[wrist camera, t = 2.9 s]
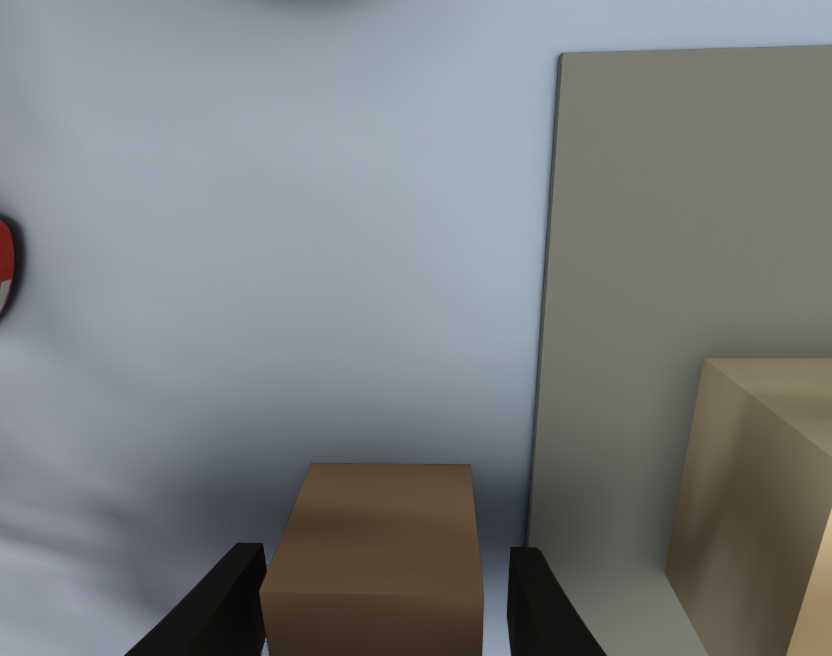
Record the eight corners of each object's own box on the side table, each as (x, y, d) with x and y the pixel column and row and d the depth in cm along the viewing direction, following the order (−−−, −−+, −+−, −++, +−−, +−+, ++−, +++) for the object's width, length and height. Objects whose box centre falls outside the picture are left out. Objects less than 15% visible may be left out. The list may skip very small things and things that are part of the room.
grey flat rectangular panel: (938, 775, 15) (947, 786, 15) (511, 759, 16) (513, 771, 16) (1309, 34, 9) (1338, 31, 8) (559, 55, 9) (563, 53, 9)
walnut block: (467, 586, 14) (479, 748, 10) (324, 583, 14) (282, 742, 10) (470, 462, 13) (483, 595, 9) (311, 461, 13) (258, 591, 9)
